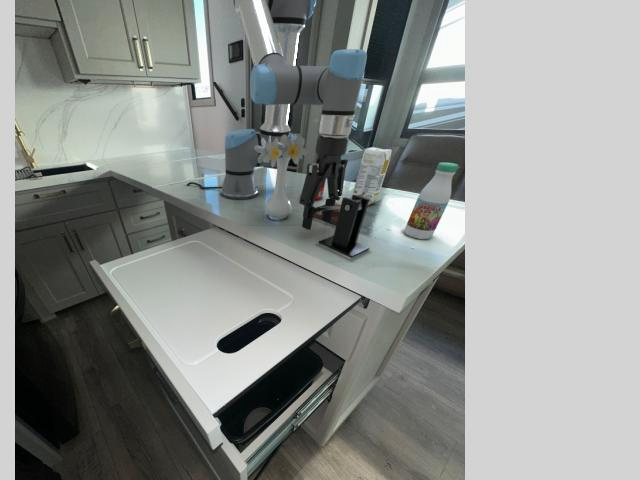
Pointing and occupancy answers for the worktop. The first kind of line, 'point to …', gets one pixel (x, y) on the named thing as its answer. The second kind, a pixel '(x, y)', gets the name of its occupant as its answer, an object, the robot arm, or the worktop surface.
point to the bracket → (348, 227)
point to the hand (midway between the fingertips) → (316, 224)
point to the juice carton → (372, 173)
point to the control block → (333, 219)
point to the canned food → (320, 191)
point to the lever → (333, 207)
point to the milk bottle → (431, 203)
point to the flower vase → (280, 170)
